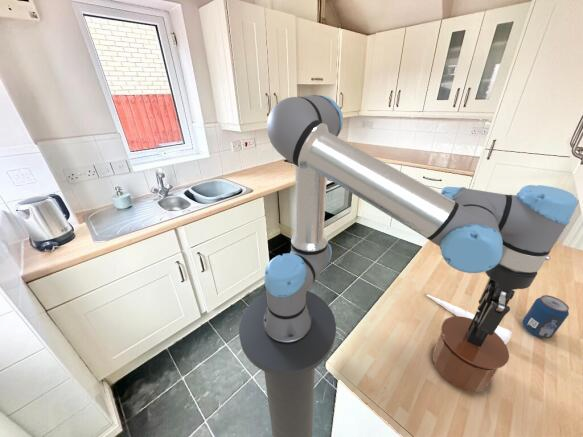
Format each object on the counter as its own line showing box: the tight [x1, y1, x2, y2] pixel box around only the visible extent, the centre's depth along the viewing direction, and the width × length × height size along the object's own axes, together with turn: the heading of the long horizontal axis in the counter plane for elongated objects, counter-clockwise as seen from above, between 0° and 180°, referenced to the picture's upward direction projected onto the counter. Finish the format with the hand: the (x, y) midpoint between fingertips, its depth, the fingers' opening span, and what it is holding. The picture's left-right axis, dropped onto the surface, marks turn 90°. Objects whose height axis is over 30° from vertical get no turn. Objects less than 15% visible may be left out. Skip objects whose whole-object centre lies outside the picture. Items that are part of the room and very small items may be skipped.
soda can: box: [521, 294, 570, 340], centre depth 71 cm, size 7×7×12 cm
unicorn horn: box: [426, 294, 513, 346], centre depth 78 cm, size 5×24×5 cm, turn 32°
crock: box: [432, 332, 500, 393], centre depth 63 cm, size 13×13×10 cm
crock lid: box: [440, 314, 510, 370], centre depth 58 cm, size 14×14×9 cm
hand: (474, 337), depth 60 cm, fingers closed on crock lid, 3 cm apart
